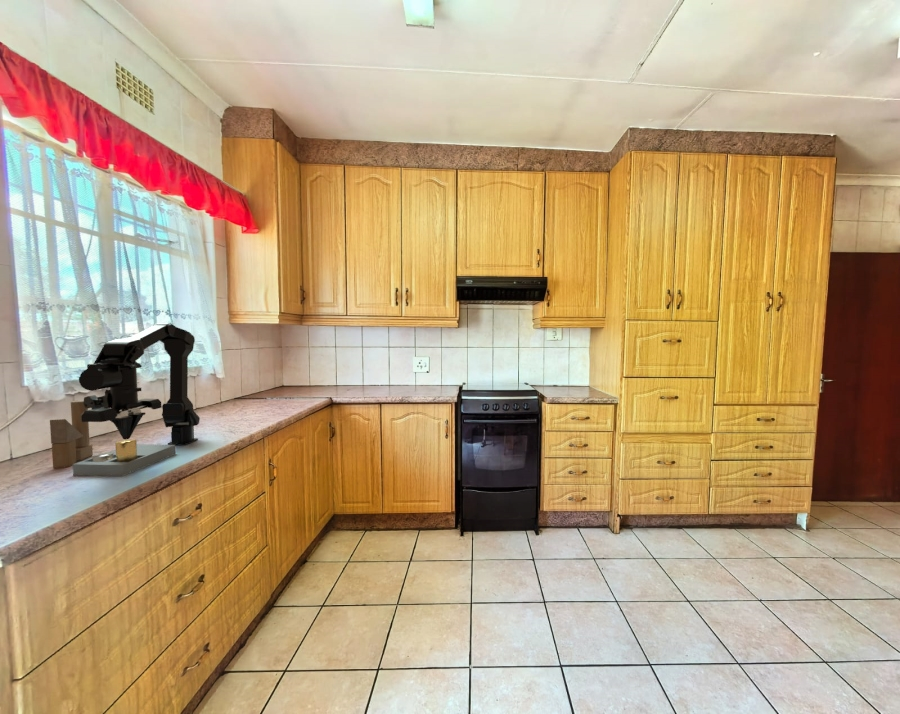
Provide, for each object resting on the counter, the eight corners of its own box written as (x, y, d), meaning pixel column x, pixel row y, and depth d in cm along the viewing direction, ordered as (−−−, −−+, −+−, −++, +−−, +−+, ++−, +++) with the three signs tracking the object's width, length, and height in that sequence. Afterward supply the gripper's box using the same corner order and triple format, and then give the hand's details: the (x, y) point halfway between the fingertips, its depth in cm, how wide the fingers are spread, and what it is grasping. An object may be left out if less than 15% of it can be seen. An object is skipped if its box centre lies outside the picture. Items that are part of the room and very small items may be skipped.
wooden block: (52, 468, 101) (48, 406, 100) (79, 456, 112) (76, 400, 111) (68, 467, 103) (64, 406, 101) (93, 455, 113) (90, 399, 112)
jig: (133, 453, 115) (133, 444, 115) (175, 453, 115) (175, 444, 114) (73, 475, 97) (72, 464, 97) (123, 475, 97) (122, 465, 96)
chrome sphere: (104, 465, 104) (103, 452, 104) (118, 465, 104) (118, 452, 104) (88, 471, 100) (87, 457, 99) (103, 471, 100) (103, 457, 99)
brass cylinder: (127, 466, 104) (125, 439, 103) (141, 466, 104) (140, 439, 103) (112, 471, 99) (110, 443, 99) (127, 471, 99) (126, 444, 99)
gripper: (126, 380, 110) (129, 430, 111) (59, 389, 91) (62, 449, 92) (161, 381, 109) (164, 430, 110) (101, 390, 91) (104, 449, 92)
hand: (126, 439), depth 101 cm, fingers closed
